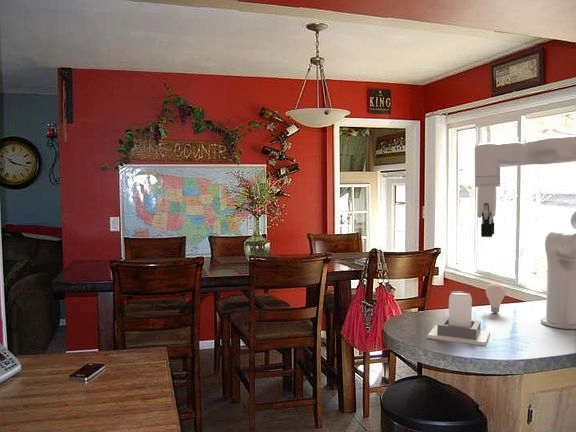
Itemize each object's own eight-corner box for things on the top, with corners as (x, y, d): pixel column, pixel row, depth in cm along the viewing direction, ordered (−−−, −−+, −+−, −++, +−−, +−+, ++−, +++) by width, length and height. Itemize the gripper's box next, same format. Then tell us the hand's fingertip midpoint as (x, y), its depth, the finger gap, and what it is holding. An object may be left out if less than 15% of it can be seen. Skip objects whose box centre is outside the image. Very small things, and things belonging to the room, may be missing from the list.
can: (445, 329, 151) (445, 291, 151) (465, 329, 152) (466, 290, 151) (453, 335, 145) (454, 295, 144) (474, 335, 145) (475, 295, 145)
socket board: (490, 334, 150) (490, 321, 150) (485, 345, 139) (485, 331, 139) (435, 327, 158) (436, 315, 157) (427, 338, 146) (427, 324, 146)
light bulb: (481, 311, 180) (481, 281, 180) (496, 310, 182) (496, 280, 182) (493, 316, 174) (494, 284, 173) (509, 314, 176) (509, 283, 175)
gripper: (477, 183, 168) (477, 233, 169) (472, 182, 152) (472, 237, 153) (501, 182, 165) (501, 233, 165) (498, 181, 149) (499, 238, 150)
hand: (487, 235), depth 159 cm, fingers open, 9 cm apart
